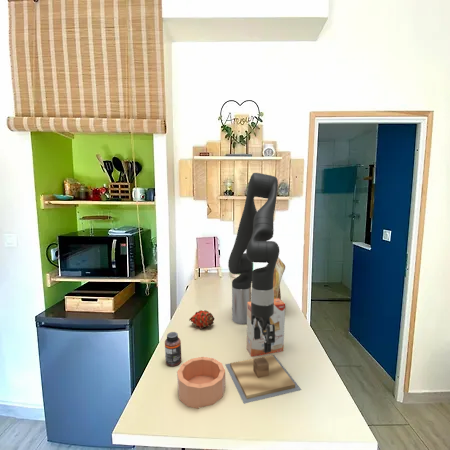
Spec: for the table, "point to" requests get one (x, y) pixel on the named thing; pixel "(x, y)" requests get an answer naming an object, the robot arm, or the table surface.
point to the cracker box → (257, 345)
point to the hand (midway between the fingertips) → (262, 345)
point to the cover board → (261, 383)
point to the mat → (262, 395)
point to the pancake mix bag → (278, 278)
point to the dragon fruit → (202, 319)
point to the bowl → (201, 382)
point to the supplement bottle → (173, 349)
